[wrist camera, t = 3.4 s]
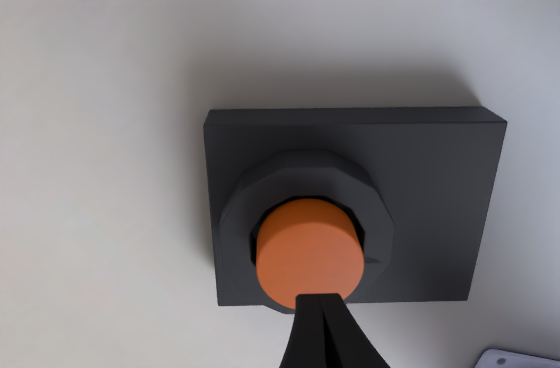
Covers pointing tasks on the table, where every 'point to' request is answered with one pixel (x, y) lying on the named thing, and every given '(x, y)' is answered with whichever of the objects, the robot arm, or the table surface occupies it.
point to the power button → (308, 251)
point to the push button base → (357, 192)
